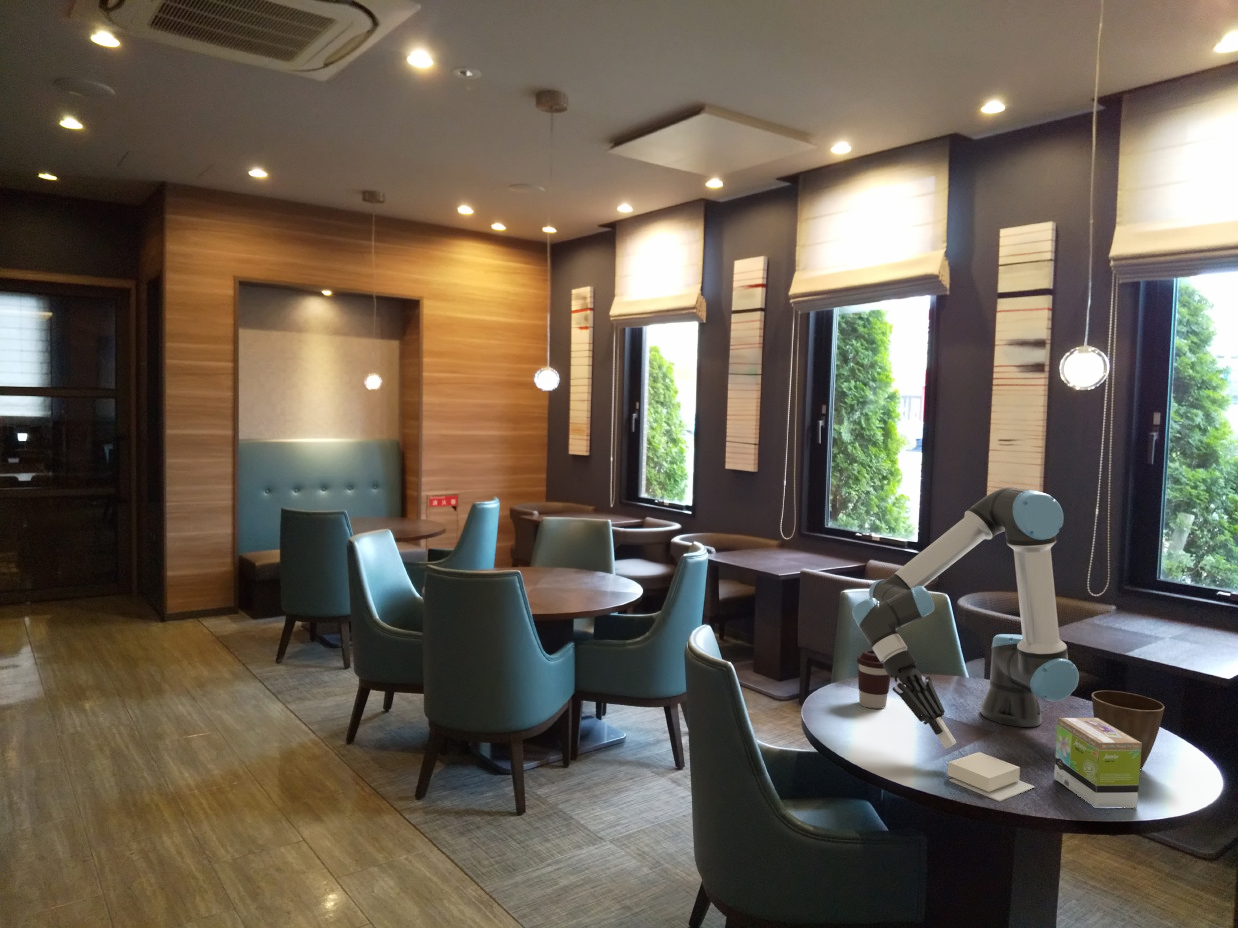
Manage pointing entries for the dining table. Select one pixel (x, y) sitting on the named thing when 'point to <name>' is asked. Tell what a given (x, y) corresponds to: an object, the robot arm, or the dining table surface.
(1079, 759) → the tea box
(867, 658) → the coffee cup
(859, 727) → the dining table surface
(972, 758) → the tile
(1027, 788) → the mat
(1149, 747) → the plant pot
